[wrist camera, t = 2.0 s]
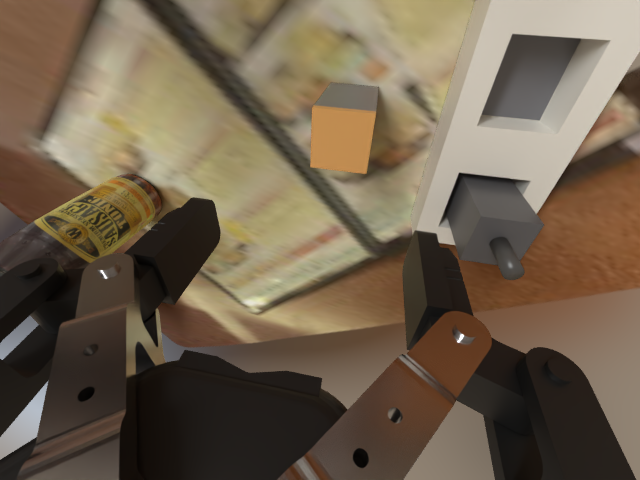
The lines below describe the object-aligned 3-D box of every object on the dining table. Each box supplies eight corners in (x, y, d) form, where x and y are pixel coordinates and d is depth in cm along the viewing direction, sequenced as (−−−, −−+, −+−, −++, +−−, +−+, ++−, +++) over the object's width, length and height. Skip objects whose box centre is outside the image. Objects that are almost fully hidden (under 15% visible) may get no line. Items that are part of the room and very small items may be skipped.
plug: (330, 82, 24) (312, 107, 18) (378, 86, 24) (376, 114, 18) (327, 130, 27) (310, 167, 21) (371, 135, 26) (366, 174, 20)
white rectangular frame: (476, -5, 19) (560, -19, 10) (623, 3, 18) (867, -4, 9) (410, 215, 31) (421, 305, 21) (498, 228, 30) (550, 327, 20)
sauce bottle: (174, 200, 35) (12, 346, 20) (150, 222, 38) (-6, 362, 23) (126, 158, 33) (-101, 289, 17) (105, 185, 36) (-105, 316, 20)
